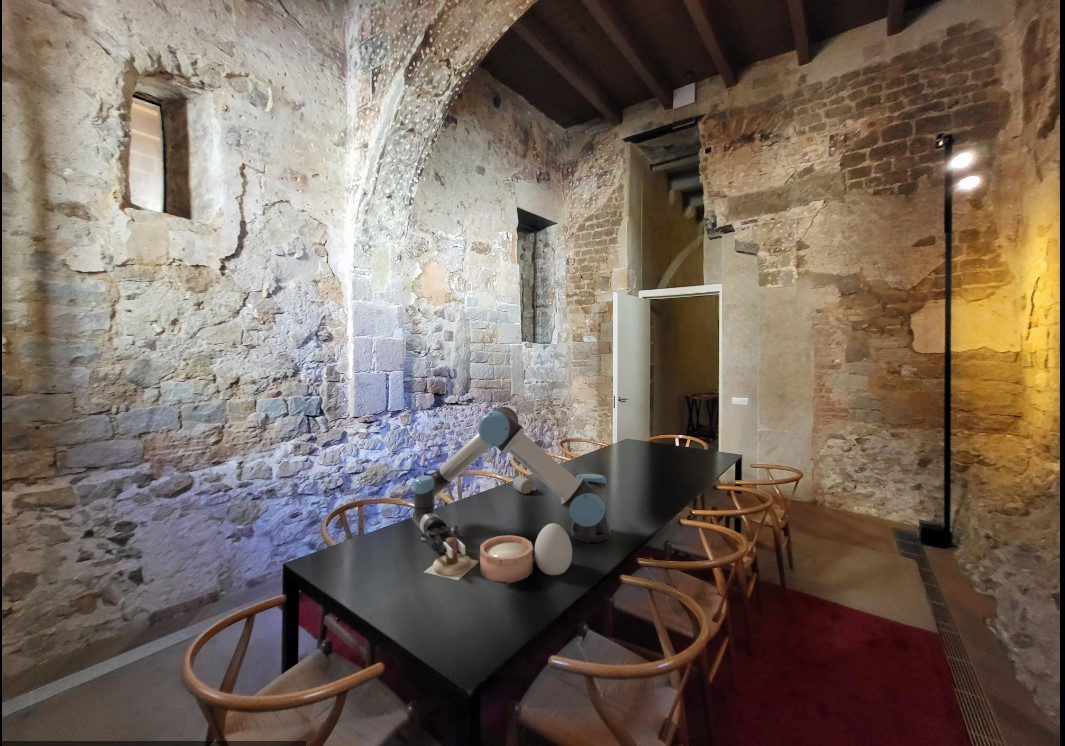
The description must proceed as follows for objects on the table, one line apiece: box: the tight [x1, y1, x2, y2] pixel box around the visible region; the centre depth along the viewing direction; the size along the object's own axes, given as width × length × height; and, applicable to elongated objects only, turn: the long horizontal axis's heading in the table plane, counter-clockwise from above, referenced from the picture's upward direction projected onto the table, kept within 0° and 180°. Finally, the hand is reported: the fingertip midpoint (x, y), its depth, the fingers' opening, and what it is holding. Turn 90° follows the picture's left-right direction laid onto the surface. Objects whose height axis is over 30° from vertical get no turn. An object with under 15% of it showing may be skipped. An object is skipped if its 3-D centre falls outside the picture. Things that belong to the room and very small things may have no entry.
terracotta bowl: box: [479, 534, 534, 584], centre depth 144 cm, size 17×17×8 cm
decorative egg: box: [533, 522, 573, 576], centre depth 143 cm, size 12×12×15 cm
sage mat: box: [423, 558, 480, 581], centre depth 145 cm, size 13×13×1 cm
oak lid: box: [432, 537, 471, 576], centre depth 145 cm, size 12×12×9 cm
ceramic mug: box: [512, 474, 537, 495], centre depth 220 cm, size 11×8×8 cm
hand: (457, 552), depth 140 cm, fingers closed on oak lid, 3 cm apart
